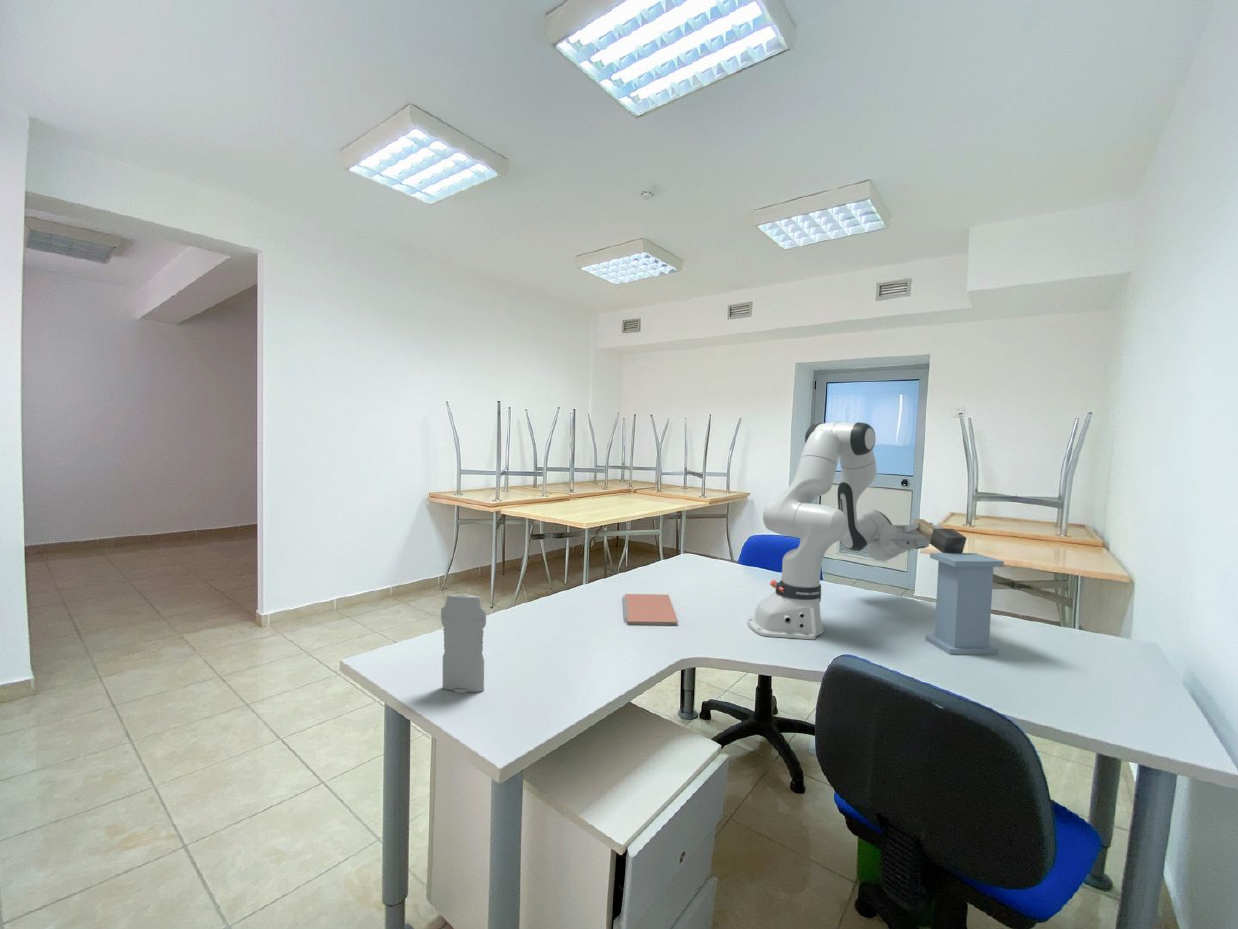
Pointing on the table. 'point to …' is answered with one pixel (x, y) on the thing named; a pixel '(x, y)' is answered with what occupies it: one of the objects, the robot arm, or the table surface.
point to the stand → (964, 603)
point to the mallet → (942, 537)
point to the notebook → (648, 609)
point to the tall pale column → (463, 643)
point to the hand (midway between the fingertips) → (925, 524)
